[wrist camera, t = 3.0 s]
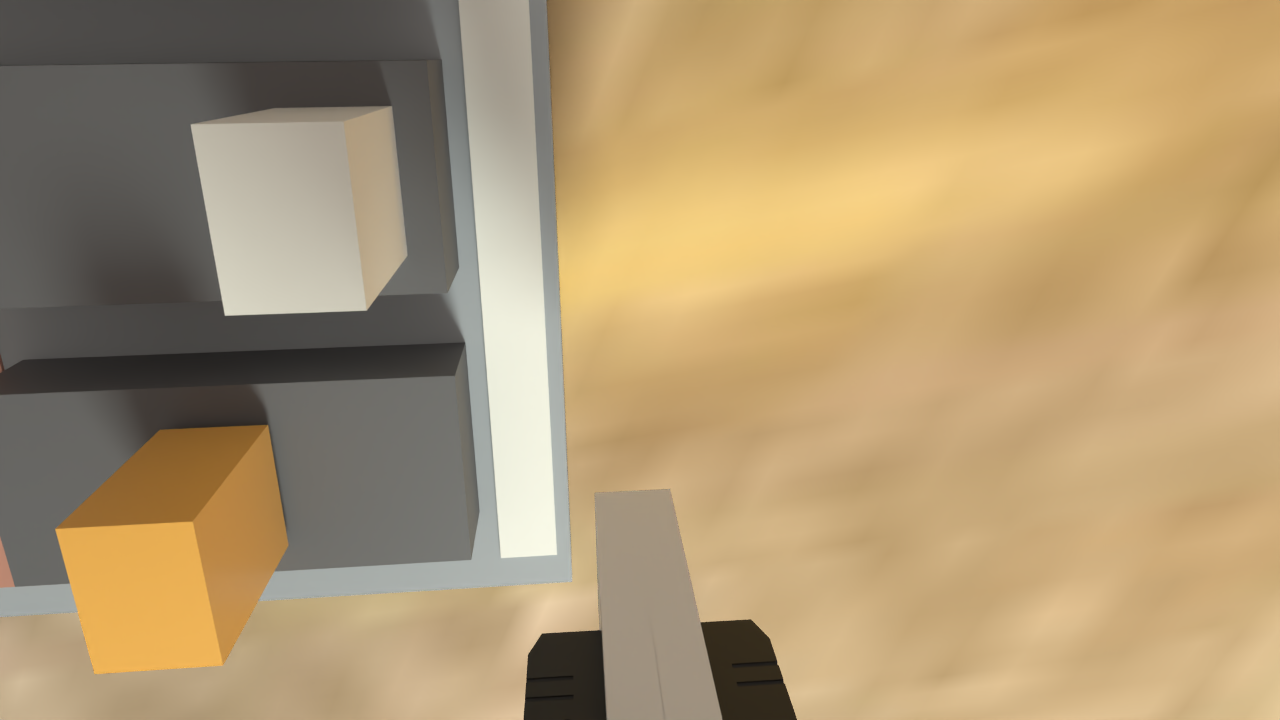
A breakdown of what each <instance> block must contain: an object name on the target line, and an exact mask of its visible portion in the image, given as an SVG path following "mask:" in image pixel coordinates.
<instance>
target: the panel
mask: <svg viewBox="0 0 1280 720" xmlns="http://www.w3.org/2000/svg"><path fill="white" fill-rule="evenodd" d="M252 425H268V427H269V433H270V439H271V445H272V451H273V457H274V463H275V468H276V474H277V480H278V486H279V492H280V498H281V504H282V510H283V515H284V521H285V527H286V533H287V539H288V547H287V549H286V551H285V553H284V555H283V556H282V558H281V560H280V562H279V564H278V566H277V567H276V569H275V571H274V573H273V575H272V577H271V578H270V580H269V582H268V584H267V586H266V588H265V589H264V591H263V593H262V595H261V597H260V599H259V600H258V601H268V600H284V599H300V598H317V597H333V596H349V595H365V594H381V593H398V592H414V591H430V590H446V589H462V588H479V587H495V586H511V585H527V584H543V583H560V582H572V559H571V534H570V512H569V489H568V467H567V444H566V422H565V399H564V377H563V355H562V332H561V310H560V287H559V265H558V242H557V220H556V197H555V175H554V152H553V130H552V107H551V85H550V62H549V40H548V17H547V0H0V617H9V616H25V615H41V614H57V613H73V612H78V611H77V607H76V604H75V600H74V596H73V593H72V589H71V585H70V582H69V578H68V574H67V571H66V567H65V563H64V560H63V556H62V552H61V549H60V545H59V541H58V538H57V534H56V530H55V529H56V528H57V527H58V526H59V525H60V524H61V523H62V522H63V521H64V520H65V519H66V518H67V517H68V516H69V515H70V514H72V513H73V512H74V511H75V510H76V509H77V508H78V507H79V506H80V505H81V504H82V503H83V502H84V501H85V500H86V499H87V498H88V497H89V496H91V495H92V494H93V493H94V492H95V491H96V490H97V489H98V488H99V487H100V486H101V485H102V484H103V483H104V482H105V481H106V480H107V479H108V478H110V477H111V476H112V475H113V474H114V473H115V472H116V471H117V470H118V469H119V468H120V467H121V466H122V465H123V464H124V463H125V462H126V461H127V460H129V459H130V458H131V457H132V456H133V455H134V454H135V453H136V452H137V451H138V450H139V449H140V448H141V447H142V446H143V445H144V444H145V443H146V442H148V441H149V440H150V439H151V438H152V437H153V436H154V435H155V434H156V433H157V432H158V431H159V430H165V429H186V428H208V427H230V426H252Z"/></svg>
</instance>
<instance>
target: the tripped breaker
mask: <svg viewBox="0 0 1280 720" xmlns="http://www.w3.org/2000/svg"><path fill="white" fill-rule="evenodd" d="M55 530H56V534H57V538H58V541H59V545H60V549H61V552H62V556H63V560H64V563H65V567H66V571H67V574H68V578H69V582H70V585H71V589H72V593H73V596H74V600H75V604H76V607H77V611H78V615H79V618H80V622H81V626H82V629H83V633H84V637H85V640H86V644H87V648H88V651H89V655H90V659H91V663H92V666H93V670H94V674H103V673H117V672H132V671H147V670H162V669H177V668H192V667H207V666H221V665H223V664H224V663H225V661H226V659H227V657H228V655H229V654H230V652H231V650H232V648H233V646H234V644H235V643H236V641H237V639H238V637H239V635H240V633H241V632H242V630H243V628H244V626H245V624H246V622H247V621H248V619H249V617H250V615H251V613H252V611H253V610H254V608H255V606H256V604H257V602H258V600H259V599H260V597H261V595H262V593H263V591H264V589H265V588H266V586H267V584H268V582H269V580H270V578H271V577H272V575H273V573H274V571H275V569H276V567H277V566H278V564H279V562H280V560H281V558H282V556H283V555H284V553H285V551H286V549H287V547H288V539H287V533H286V527H285V521H284V515H283V510H282V504H281V498H280V492H279V486H278V480H277V474H276V468H275V463H274V457H273V451H272V445H271V439H270V433H269V427H268V425H252V426H230V427H208V428H186V429H165V430H159V431H158V432H157V433H156V434H155V435H154V436H153V437H152V438H151V439H150V440H149V441H148V442H146V443H145V444H144V445H143V446H142V447H141V448H140V449H139V450H138V451H137V452H136V453H135V454H134V455H133V456H132V457H131V458H130V459H129V460H127V461H126V462H125V463H124V464H123V465H122V466H121V467H120V468H119V469H118V470H117V471H116V472H115V473H114V474H113V475H112V476H111V477H110V478H108V479H107V480H106V481H105V482H104V483H103V484H102V485H101V486H100V487H99V488H98V489H97V490H96V491H95V492H94V493H93V494H92V495H91V496H89V497H88V498H87V499H86V500H85V501H84V502H83V503H82V504H81V505H80V506H79V507H78V508H77V509H76V510H75V511H74V512H73V513H72V514H70V515H69V516H68V517H67V518H66V519H65V520H64V521H63V522H62V523H61V524H60V525H59V526H58V527H57V528H56V529H55Z"/></svg>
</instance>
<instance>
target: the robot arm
mask: <svg viewBox="0 0 1280 720" xmlns="http://www.w3.org/2000/svg"><path fill="white" fill-rule="evenodd" d="M595 519H596V549H597V579H598V609H599V629H600V630H597V631H580V632H563V633H546V634H542V635H541V636H540V638H539V639H538V641H537V642H536V644H535V645H534V647H533V648H532V650H531V651H530V653H529V654H528V664H527V683H526V694H525V708H524V720H797V718H796V715H795V712H794V709H793V706H792V704H791V701H790V698H789V695H788V692H787V689H786V686H785V684H784V683H783V677H782V674H781V671H780V668H779V665H777V659H776V656H775V653H774V650H773V647H772V644H771V641H770V638H769V637H768V636H767V635H766V634H765V633H764V632H763V631H762V630H761V629H760V628H759V627H758V626H757V625H756V624H755V623H754V622H753V621H752V620H735V621H717V622H700V619H699V614H698V610H697V605H696V601H695V597H694V592H693V588H692V583H691V579H690V575H689V570H688V566H687V561H686V557H685V553H684V548H683V544H682V539H681V535H680V531H679V526H678V522H677V517H676V513H675V509H674V504H673V500H672V495H671V491H670V489H661V490H640V491H619V492H597V493H595Z"/></svg>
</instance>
